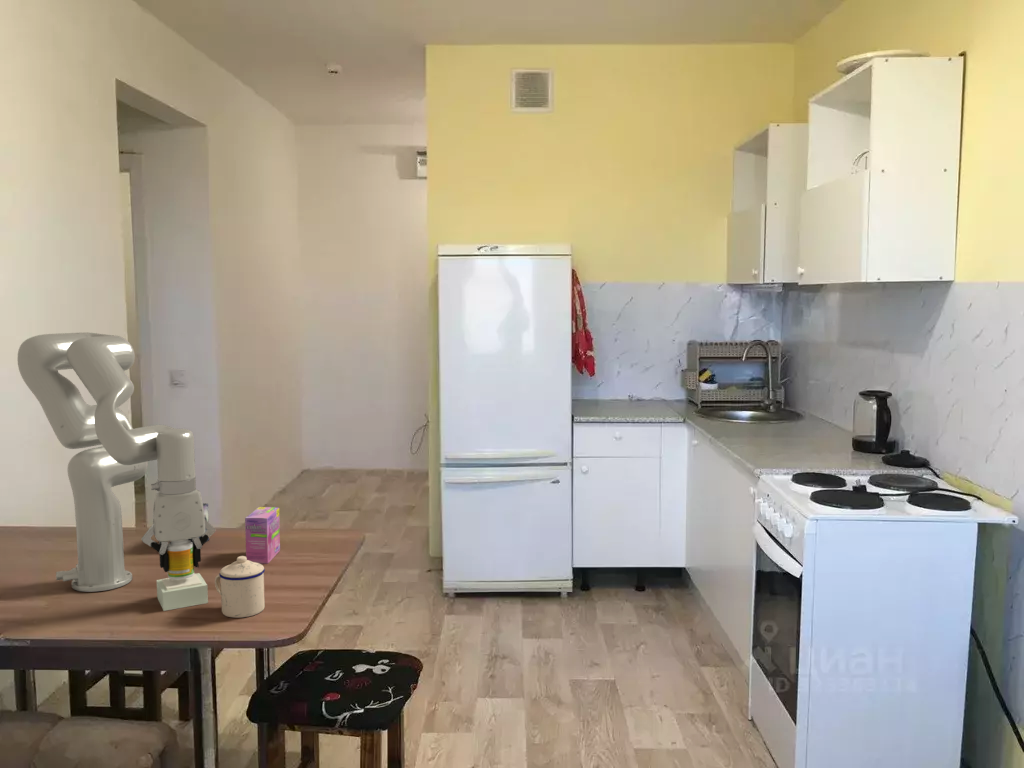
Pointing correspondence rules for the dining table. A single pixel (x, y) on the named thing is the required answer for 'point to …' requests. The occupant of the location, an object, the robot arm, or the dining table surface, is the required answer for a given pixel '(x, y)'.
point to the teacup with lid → (241, 588)
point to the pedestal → (182, 592)
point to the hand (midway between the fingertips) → (180, 567)
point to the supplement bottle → (180, 559)
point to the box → (262, 534)
